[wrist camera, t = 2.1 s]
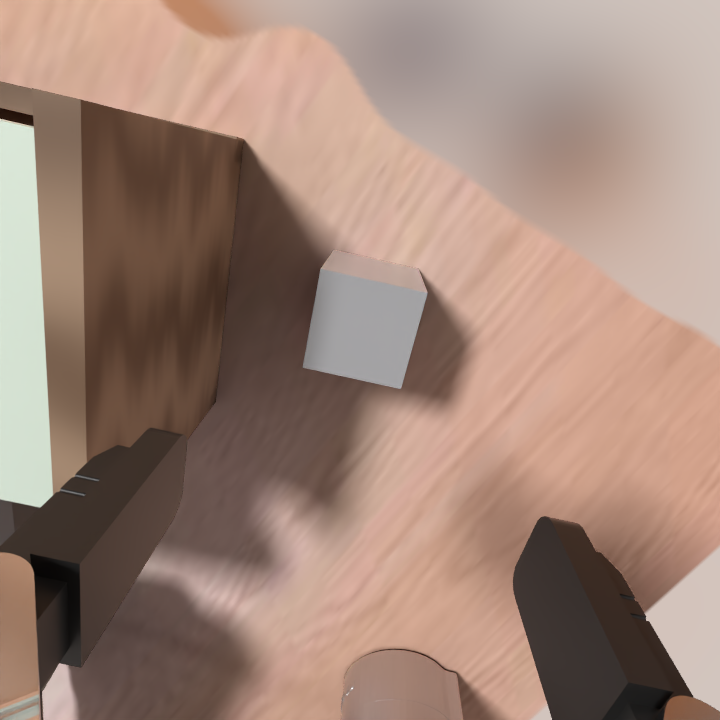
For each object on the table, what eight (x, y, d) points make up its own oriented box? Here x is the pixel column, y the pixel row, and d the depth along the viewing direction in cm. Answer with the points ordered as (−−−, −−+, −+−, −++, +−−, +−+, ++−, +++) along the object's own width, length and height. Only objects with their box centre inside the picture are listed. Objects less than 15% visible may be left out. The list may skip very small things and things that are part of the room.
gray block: (418, 268, 26) (427, 293, 21) (397, 347, 28) (400, 389, 23) (334, 249, 26) (320, 268, 21) (318, 329, 28) (302, 367, 22)
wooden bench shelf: (215, 402, 30) (88, 572, 17) (-18, 352, 30) (-331, 489, 17) (243, 139, 24) (80, 95, 11) (-49, 70, 24) (-579, -61, 11)
